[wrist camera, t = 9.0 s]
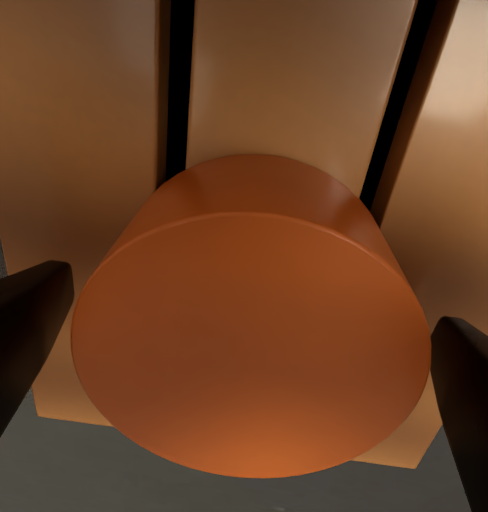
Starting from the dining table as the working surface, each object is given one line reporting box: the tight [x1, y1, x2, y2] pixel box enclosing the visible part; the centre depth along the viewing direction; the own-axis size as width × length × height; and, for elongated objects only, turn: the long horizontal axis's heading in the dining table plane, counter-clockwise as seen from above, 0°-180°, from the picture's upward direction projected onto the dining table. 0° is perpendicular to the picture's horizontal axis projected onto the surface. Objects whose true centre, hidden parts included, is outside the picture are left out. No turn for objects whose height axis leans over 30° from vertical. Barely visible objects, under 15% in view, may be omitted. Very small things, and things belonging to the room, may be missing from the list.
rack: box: [0, 0, 488, 469], centre depth 10 cm, size 14×14×7 cm
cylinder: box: [70, 154, 432, 478], centre depth 8 cm, size 6×6×3 cm
